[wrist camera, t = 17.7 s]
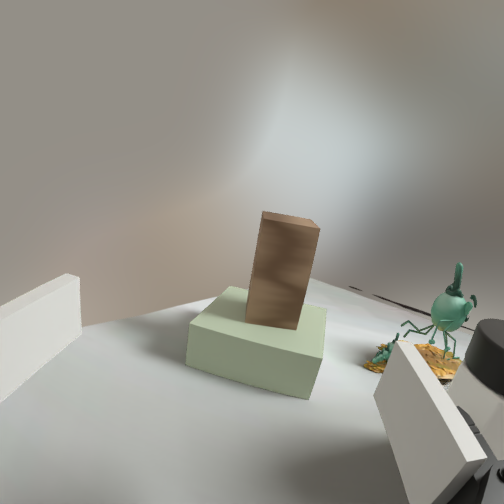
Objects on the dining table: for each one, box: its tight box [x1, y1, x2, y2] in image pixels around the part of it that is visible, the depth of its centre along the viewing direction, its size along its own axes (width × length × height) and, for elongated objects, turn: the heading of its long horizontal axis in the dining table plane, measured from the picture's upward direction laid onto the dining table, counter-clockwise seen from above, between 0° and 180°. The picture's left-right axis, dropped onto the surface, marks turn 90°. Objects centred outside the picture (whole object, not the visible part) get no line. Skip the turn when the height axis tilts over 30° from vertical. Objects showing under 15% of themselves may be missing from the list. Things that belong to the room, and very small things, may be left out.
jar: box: [446, 319, 504, 460], centre depth 16 cm, size 9×8×12 cm
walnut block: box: [245, 211, 320, 330], centre depth 31 cm, size 5×5×10 cm
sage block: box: [185, 286, 327, 400], centre depth 32 cm, size 12×12×5 cm
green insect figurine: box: [364, 262, 477, 379], centre depth 33 cm, size 10×18×15 cm, turn 82°
